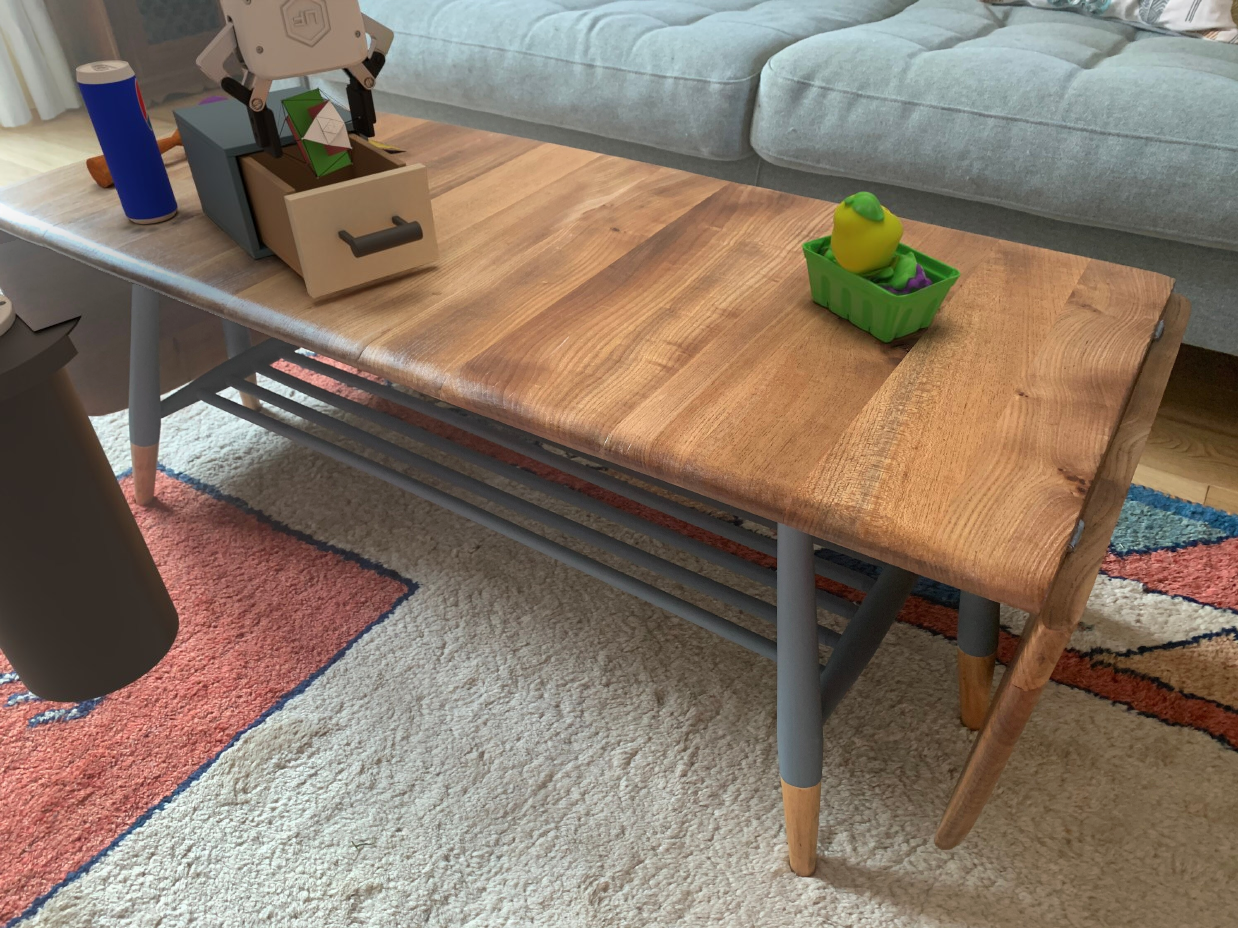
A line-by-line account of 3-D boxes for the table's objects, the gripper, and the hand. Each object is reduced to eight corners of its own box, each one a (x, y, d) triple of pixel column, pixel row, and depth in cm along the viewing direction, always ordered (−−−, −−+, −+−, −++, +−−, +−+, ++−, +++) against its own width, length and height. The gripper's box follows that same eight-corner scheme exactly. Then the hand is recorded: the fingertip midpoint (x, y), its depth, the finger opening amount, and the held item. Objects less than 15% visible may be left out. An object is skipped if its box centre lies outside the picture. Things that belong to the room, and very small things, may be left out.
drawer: (462, 275, 81) (450, 179, 75) (333, 317, 75) (310, 216, 69) (371, 213, 93) (355, 127, 87) (253, 245, 87) (228, 154, 81)
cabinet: (384, 224, 93) (365, 119, 86) (254, 260, 86) (223, 149, 80) (323, 182, 102) (302, 85, 96) (203, 211, 96) (171, 110, 90)
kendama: (69, 147, 101) (215, 91, 113) (98, 198, 104) (237, 138, 117) (95, 146, 98) (242, 88, 110) (123, 199, 101) (263, 137, 113)
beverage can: (187, 215, 95) (140, 65, 86) (139, 229, 92) (84, 76, 83) (167, 203, 98) (118, 57, 89) (119, 216, 95) (64, 66, 86)
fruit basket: (953, 329, 74) (985, 195, 67) (875, 359, 70) (900, 221, 63) (855, 277, 81) (875, 153, 75) (780, 303, 78) (793, 174, 71)
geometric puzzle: (249, 146, 79) (267, 77, 73) (307, 125, 84) (330, 58, 78) (305, 206, 79) (329, 142, 73) (361, 181, 84) (387, 119, 78)
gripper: (167, -73, 62) (237, 178, 72) (396, -93, 70) (428, 134, 81) (138, -83, 67) (207, 154, 77) (355, -101, 75) (390, 115, 86)
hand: (320, 142), depth 79 cm, fingers closed on geometric puzzle, 8 cm apart
